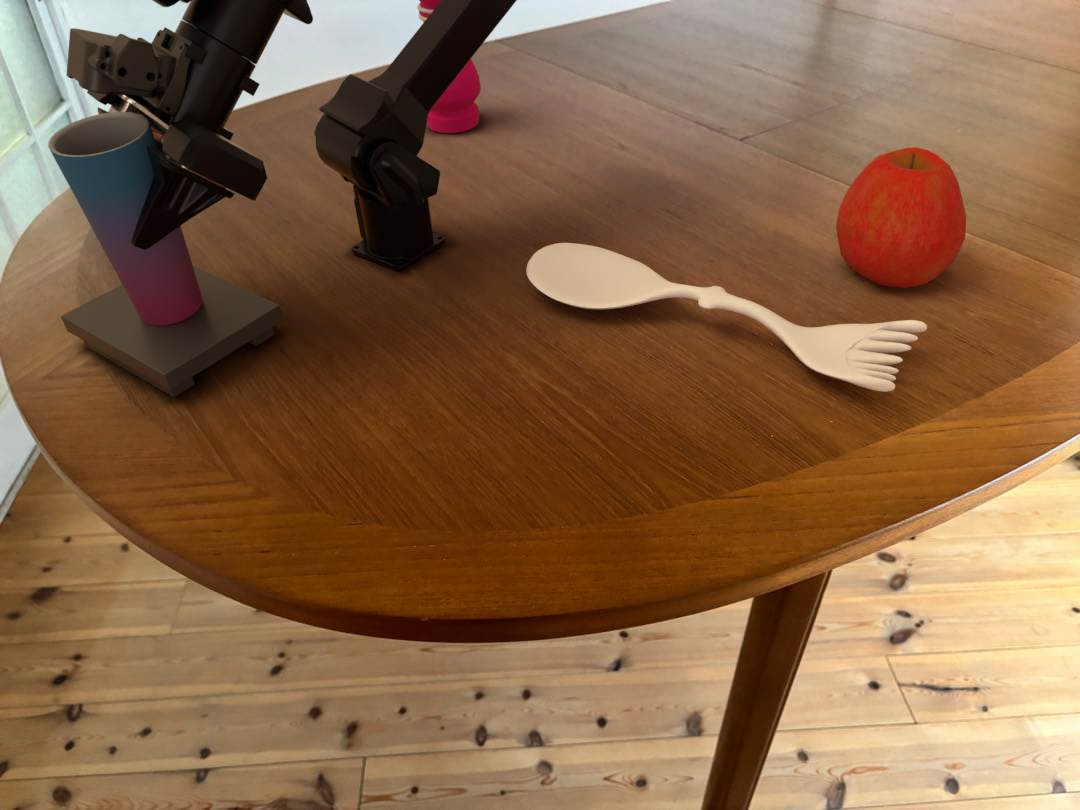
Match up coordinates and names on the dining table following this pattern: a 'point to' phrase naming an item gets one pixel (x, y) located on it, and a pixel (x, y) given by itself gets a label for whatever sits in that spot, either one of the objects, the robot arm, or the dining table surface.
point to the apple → (902, 219)
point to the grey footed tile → (174, 332)
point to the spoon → (627, 282)
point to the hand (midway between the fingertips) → (122, 231)
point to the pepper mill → (454, 93)
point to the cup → (126, 211)
